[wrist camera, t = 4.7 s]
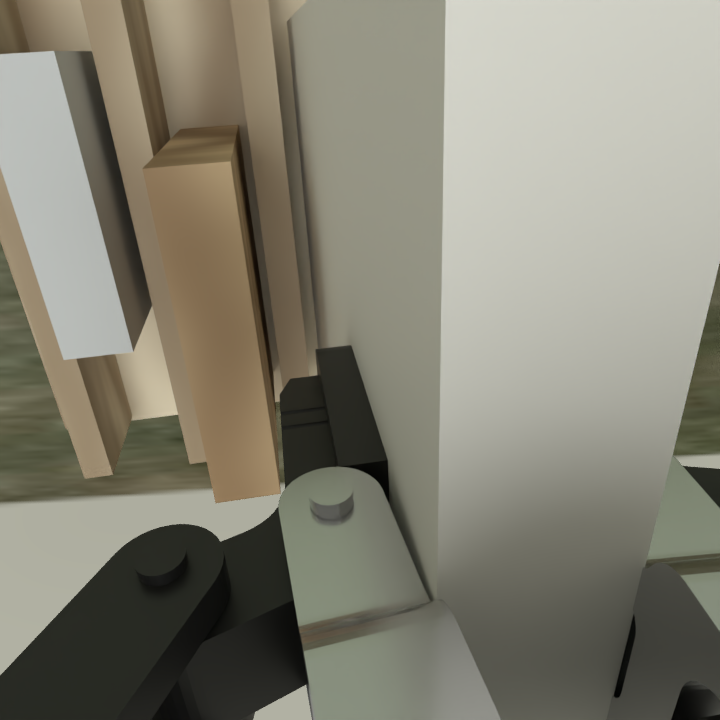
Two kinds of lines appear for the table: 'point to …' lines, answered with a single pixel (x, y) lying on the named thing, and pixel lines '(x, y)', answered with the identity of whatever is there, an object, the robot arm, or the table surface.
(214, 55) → the rack
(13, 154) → the offcut grey
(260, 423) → the offcut oak
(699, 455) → the table surface
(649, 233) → the sheet
